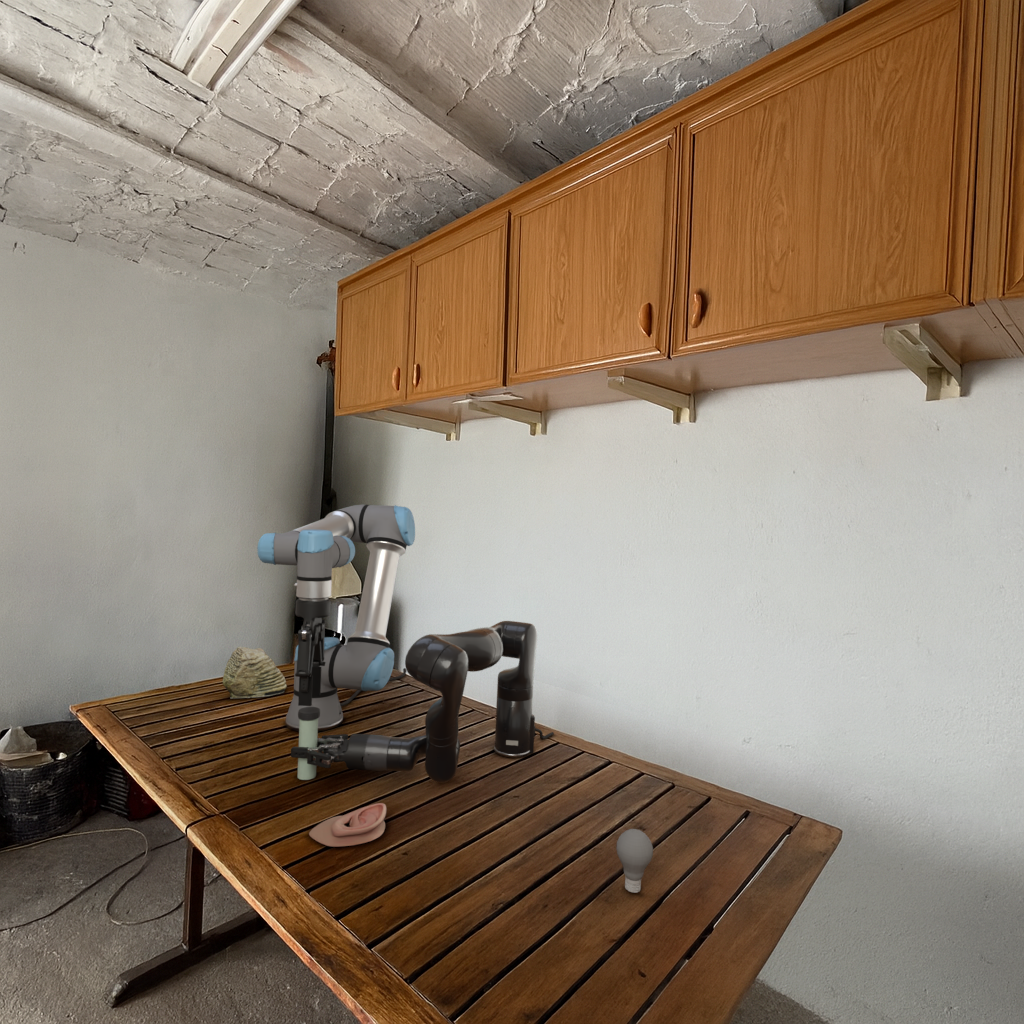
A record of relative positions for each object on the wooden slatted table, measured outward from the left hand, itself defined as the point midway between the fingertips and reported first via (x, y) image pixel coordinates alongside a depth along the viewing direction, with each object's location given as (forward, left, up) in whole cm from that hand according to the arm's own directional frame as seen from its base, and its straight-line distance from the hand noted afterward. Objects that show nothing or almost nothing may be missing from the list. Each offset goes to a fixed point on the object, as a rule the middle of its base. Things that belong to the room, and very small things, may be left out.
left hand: (309, 699), depth 143 cm
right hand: (+2, -2, -11) cm, 11 cm away
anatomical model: (+8, +26, -17) cm, 33 cm away
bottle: (0, 0, -17) cm, 17 cm away
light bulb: (-12, +76, -17) cm, 78 cm away
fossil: (-22, -61, -17) cm, 67 cm away
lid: (0, 0, -3) cm, 3 cm away
